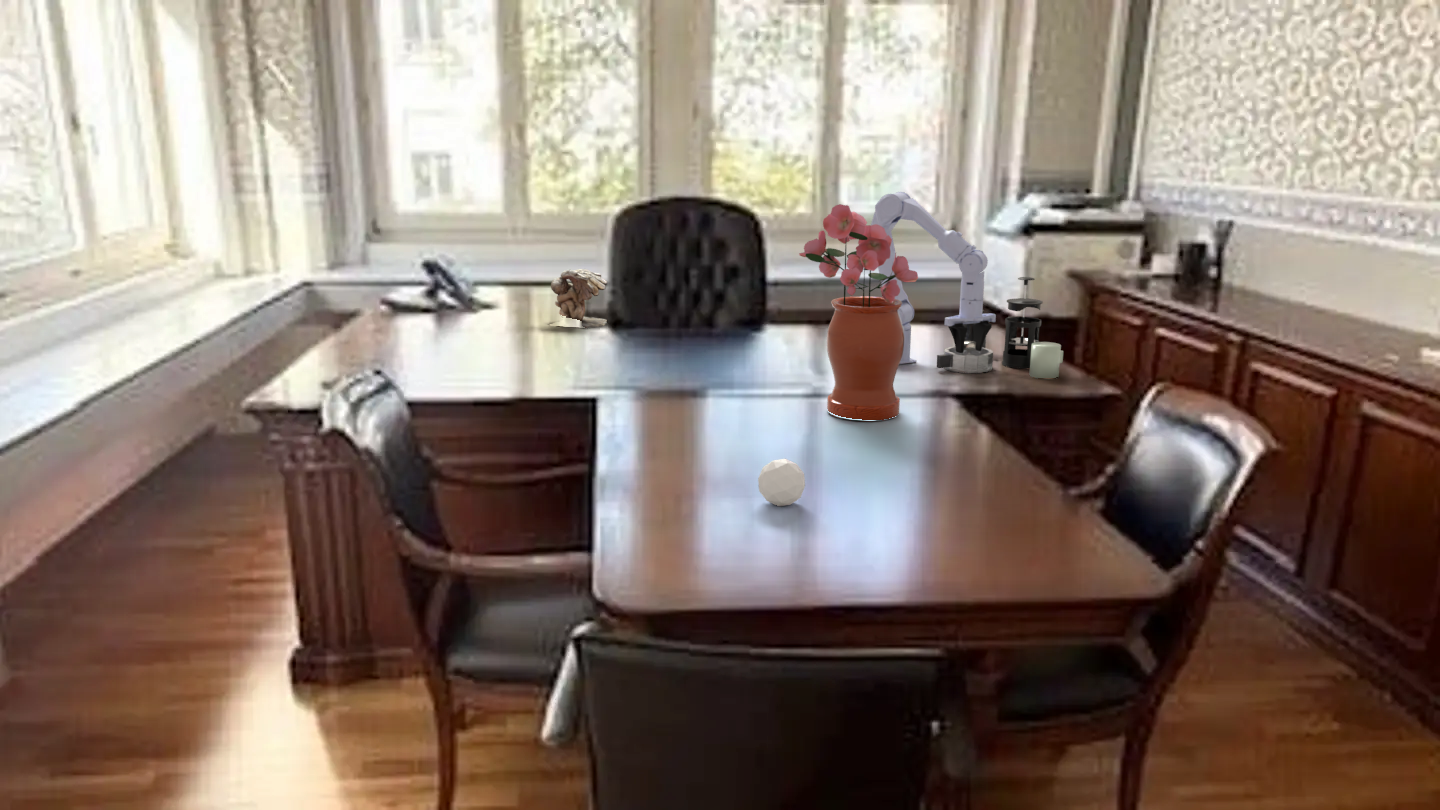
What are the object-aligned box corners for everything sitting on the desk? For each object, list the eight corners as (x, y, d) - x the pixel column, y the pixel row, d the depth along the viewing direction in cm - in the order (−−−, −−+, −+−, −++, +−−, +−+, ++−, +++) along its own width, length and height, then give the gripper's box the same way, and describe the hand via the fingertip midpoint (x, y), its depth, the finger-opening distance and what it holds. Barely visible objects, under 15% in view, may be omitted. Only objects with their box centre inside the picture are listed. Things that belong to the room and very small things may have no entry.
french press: (1047, 368, 271) (1054, 279, 266) (1014, 370, 269) (1020, 280, 263) (1023, 358, 282) (1029, 273, 276) (991, 360, 280) (997, 274, 274)
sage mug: (1042, 380, 259) (1044, 348, 257) (1023, 374, 265) (1025, 343, 263) (1069, 376, 262) (1072, 345, 260) (1050, 371, 268) (1052, 340, 266)
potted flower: (794, 401, 240) (796, 201, 228) (903, 399, 241) (912, 200, 230) (805, 424, 222) (809, 207, 210) (923, 421, 223) (933, 206, 211)
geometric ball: (769, 516, 177) (753, 473, 179) (814, 499, 177) (796, 456, 179) (765, 509, 170) (748, 464, 172) (812, 491, 169) (794, 446, 172)
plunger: (964, 369, 266) (965, 347, 264) (943, 363, 273) (944, 340, 272) (992, 366, 269) (993, 344, 268) (971, 359, 277) (972, 337, 275)
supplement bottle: (987, 355, 287) (990, 312, 283) (962, 355, 287) (965, 312, 284) (982, 350, 293) (984, 307, 290) (957, 350, 293) (960, 307, 290)
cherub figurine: (568, 316, 348) (566, 262, 343) (618, 319, 342) (616, 265, 337) (542, 326, 332) (539, 269, 327) (593, 329, 326) (591, 272, 321)
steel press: (952, 376, 263) (952, 358, 261) (924, 367, 273) (924, 349, 272) (1001, 370, 269) (1002, 353, 267) (972, 361, 279) (973, 344, 278)
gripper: (957, 303, 261) (954, 356, 264) (1004, 299, 266) (1001, 351, 270) (940, 299, 267) (938, 351, 270) (987, 295, 272) (983, 346, 276)
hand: (968, 351), depth 270 cm, fingers open, 5 cm apart
